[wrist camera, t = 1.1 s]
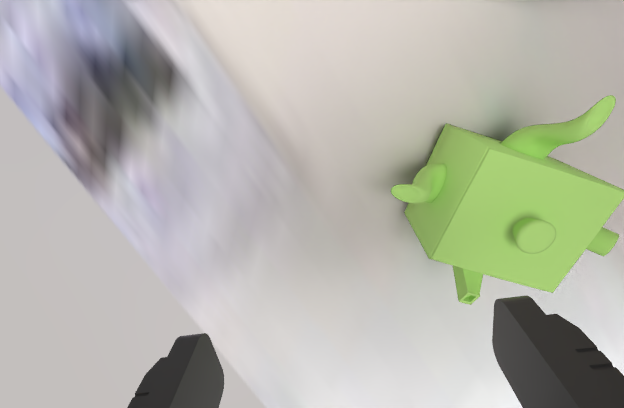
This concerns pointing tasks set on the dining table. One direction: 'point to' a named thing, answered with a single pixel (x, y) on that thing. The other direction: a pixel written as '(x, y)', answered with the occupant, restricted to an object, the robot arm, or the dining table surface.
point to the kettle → (511, 205)
